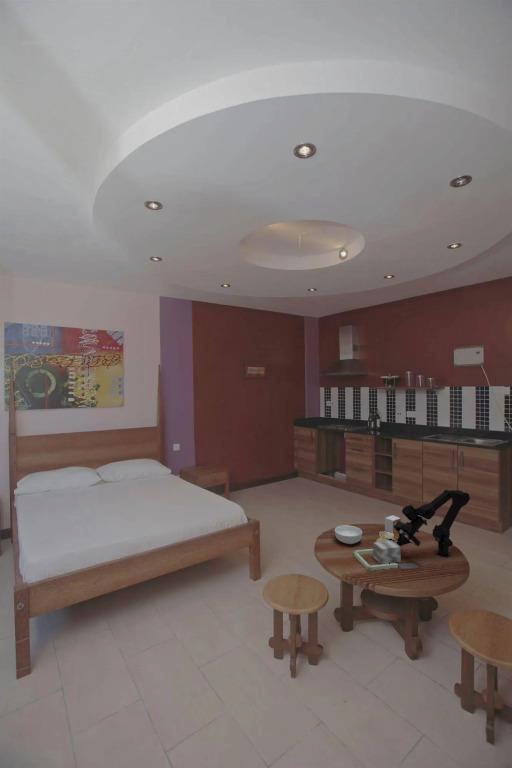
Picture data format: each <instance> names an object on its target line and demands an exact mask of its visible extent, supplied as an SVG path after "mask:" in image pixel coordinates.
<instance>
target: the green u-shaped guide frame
mask: <svg viewBox="0 0 512 768" xmlns="http://www.w3.org/2000/svg"><path fill="white" fill-rule="evenodd" d="M352 555H353V556H354V557H355V558H356V560H358V562H359V563H360V564H361V565H363V567H364V568H365V569H366V570H367V571H368V572H373V571H374V570H376V571H382V570H381V569H385V570H391V569H390V568H394V569H400V568H401V570H402V569H405V570H413V569H419V568H420V567H419V566H418V565H417V564H416V563H414V562H405V563H390V564H374V565H370V564H369V563H368V562H367V561H366V560H365V559H364V558H363V557H362V556H363V555H373V548H370V549H368V548H367V549H357V550H352ZM398 566H399V567H400V568H399V567H398ZM374 572H375V571H374Z"/></svg>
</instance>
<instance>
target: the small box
mask: <svg viewBox="0 0 512 768" xmlns="http://www.w3.org/2000/svg"><path fill="white" fill-rule="evenodd" d="M398 520H399V521H401V522H402V520H401V517H398V516H396V515H393V514H392V515H390V516H389V515H388V516H387V517H385V518H384V533H385V532H390V533H393V534H394V537H395V539H396V540H395V541H398V538H399V533H398V531H397V530H396V529H395V528H394V527H393V526H394V525H395V524H397V522H398Z"/></svg>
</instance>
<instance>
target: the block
mask: <svg viewBox="0 0 512 768" xmlns="http://www.w3.org/2000/svg"><path fill="white" fill-rule="evenodd" d="M396 543H397V542H395V541H392V540H387V541H386V540H385V541H375V542H373V543H372V545H373V546H372V547H373V548H372V549H373V554H372V555H373V556H372V557H373V558H374V560H375V561H377V562H378V563H379V565H382V564H389V563H390V564H391V563H395V562H398V563H401V562H402V560H401V558H402V555H401V551H402V550H401V549H402V548H401V547H402V546H399V545H397V544H396Z"/></svg>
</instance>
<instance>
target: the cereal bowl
mask: <svg viewBox="0 0 512 768" xmlns="http://www.w3.org/2000/svg"><path fill="white" fill-rule="evenodd" d="M334 534H335V537H336V539H337V540H338V541H340V542H341V543H343V544H346V545H353V544H356V543H359V542H360V541H361V540H362V538H363V531H362V528H360V527H358V526H353V525H347V524H344V525H338V526H337V527H335V529H334Z"/></svg>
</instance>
